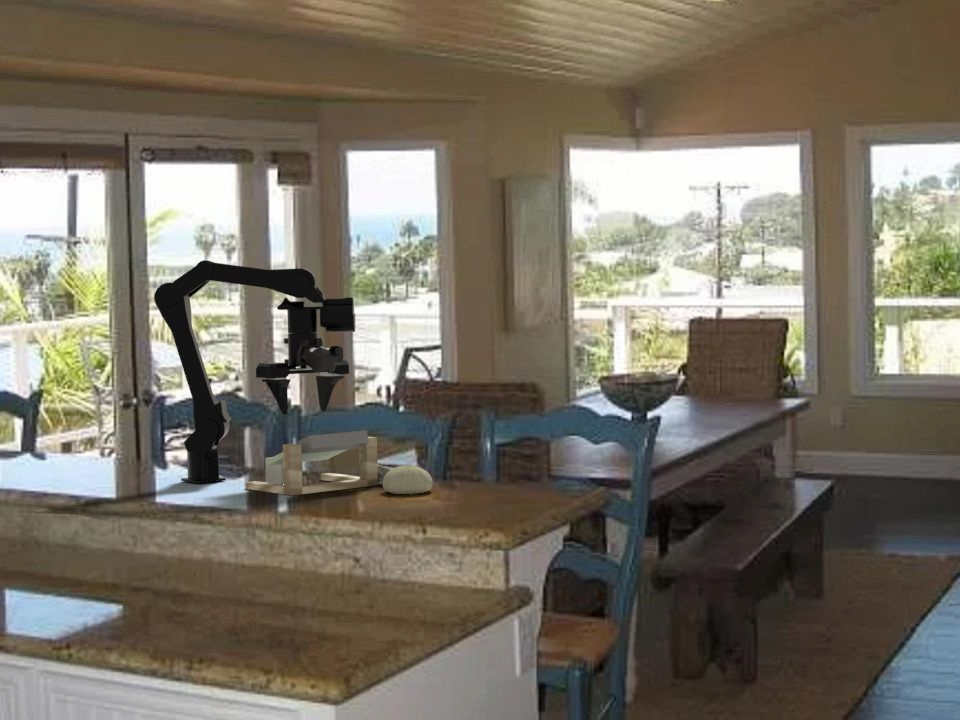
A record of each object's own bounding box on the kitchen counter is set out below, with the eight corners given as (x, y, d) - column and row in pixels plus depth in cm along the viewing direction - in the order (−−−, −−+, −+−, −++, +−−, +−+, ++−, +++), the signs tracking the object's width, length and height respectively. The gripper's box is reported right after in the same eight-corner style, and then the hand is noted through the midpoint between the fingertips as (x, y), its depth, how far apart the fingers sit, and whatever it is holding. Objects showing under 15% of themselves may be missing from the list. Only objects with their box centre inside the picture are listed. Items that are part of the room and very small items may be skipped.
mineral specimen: (390, 485, 300) (389, 463, 300) (430, 485, 291) (429, 463, 292) (363, 487, 296) (362, 464, 296) (403, 487, 287) (402, 464, 287)
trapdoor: (267, 469, 290) (264, 457, 290) (327, 463, 299) (324, 451, 300) (310, 448, 279) (307, 435, 280) (371, 442, 289) (368, 430, 289)
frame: (245, 488, 290) (244, 440, 290) (330, 478, 304) (329, 433, 303) (291, 495, 279) (290, 445, 279) (377, 485, 293) (376, 437, 292)
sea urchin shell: (442, 479, 285) (430, 451, 280) (431, 513, 280) (420, 486, 275) (396, 477, 288) (383, 450, 283) (385, 511, 283) (372, 485, 278)
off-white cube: (280, 459, 294) (280, 485, 295) (301, 457, 298) (302, 483, 298) (265, 457, 298) (265, 483, 298) (286, 455, 302) (287, 481, 302)
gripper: (287, 334, 290) (289, 418, 290) (366, 332, 302) (367, 412, 303) (253, 334, 298) (255, 415, 299) (331, 331, 310) (333, 409, 311)
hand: (304, 413), depth 303 cm, fingers open, 9 cm apart
